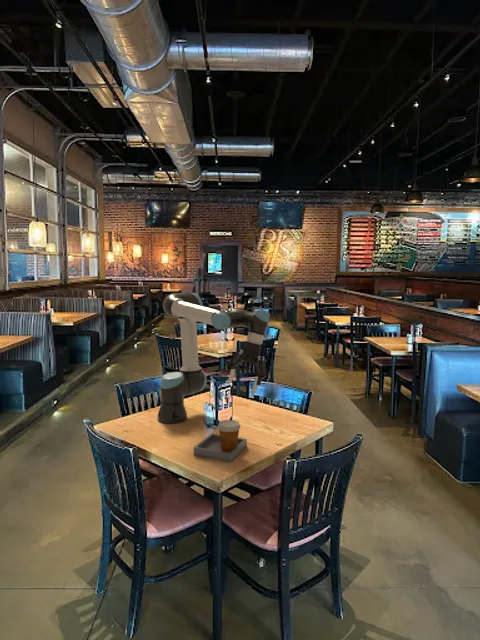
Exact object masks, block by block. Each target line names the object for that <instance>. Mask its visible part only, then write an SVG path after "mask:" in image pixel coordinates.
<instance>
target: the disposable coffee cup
mask: <svg viewBox="0 0 480 640" xmlns="http://www.w3.org/2000/svg"><path fill="white" fill-rule="evenodd" d="M217 428H218V433H219V434H218V435H220V442H221V451H222V452H227V453H230V452H231V451H233V450H234V449H235V448H236V447H237V442H238V438H239V434H240V429H241V424H240V422H239V421H238V420H233V419H225V420H221V421H219V423H218V425H217Z"/></svg>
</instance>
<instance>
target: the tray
mask: <svg viewBox="0 0 480 640" xmlns="http://www.w3.org/2000/svg"><path fill="white" fill-rule="evenodd" d="M247 443H248V442H247V439H246V438H241V437H238V442H237V447H236V448H235V449H234V450H233V451H231V452H230V453H227V452H222V451H221V442H220V434H218V433H217V434H216V433H210V434H209V435H208V436H207V437H205V438H204V439H202V440H201V441H200V442H198V444H197V445H195V446H193V456H195V457H200V458H205V459H210V460H214V461H215V460H216V461H221V462H226V463H231V464H232V463H233V462H234V460H235V459H236V458H238V456H240V454H241V453H242V452H244V450H245V449H246V448H247Z"/></svg>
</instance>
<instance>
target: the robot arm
mask: <svg viewBox="0 0 480 640" xmlns="http://www.w3.org/2000/svg"><path fill="white" fill-rule="evenodd" d="M162 309H163V311H164V313H165V314H166V315H168V316H170V317H173V318H176V319H177V320H178V322H179V326H180V342H181V343H180V344H181V358H182V361H181V362H182V366H181V368H180V369H179V371H173V372H168V373H165V374H164V375H162V377H161V378H160V407H159V410H158V413H157V420H158V421H159V422H160V423H164V424H177V423H182V422H186V420H187V419H188V413H187V410H186V407H185V404H184V402H185V401H184V397H186V396H189V395H193V394H197V393H199V392H201V391H203V390H204V389H205V388H206V385H207V383H208V382H207V381H208V378H207V375H206V374H205V371H204V370H202V369H203V368H202V367H201V366H200V363H199V351H198V350H199V347H198V328H197V327H198V326H197V322H199V323H203V324H206V325H210V326H212V327H213V328H215V329H216V330H226V329H232V328H233V329H234V328H240V327H244V328H248V334H247V336H246V341H245V343H244V348H243V350H242V349H240V348H238V349H237V350H236V353H235V354H234V355H233V356H232V357H231V359H230V360H229V362H228V363H226V366H227V367H229V370H228V379H227V383H228V384H231V383H233V380H234V376H235V373H236V368H237V367H238V366H239V365H241V364H242V363H244V362H247V363H250V364H252V365H253V367H254V370H255V373H256V376H257V377H256V378H255V381H254V384H253V387H252V392H254V393H257V391H258V387H259V386H260V385H261V384H262V380H263V379H267V378H268V376H267V371H266V364H265V359H266V357H265V356H263V355H260V353H261V350H262V344H263V341H264V338H265V334H266V330H267V327H268V324H269V319H270V315H271V314H270V312H269V311H266V310H263V309H258V308H255V309H254V310H253V312H251V311H249V310H246V309H245V310H244V309H242V308H240V309H239V308H234V309H232V311H223V310H219V309H215V308H211V307H207V306H205V305H204V304H203V300H202V298H201V296H199V294H197V293H194V292H182V293H181V292H180V293H171V294H168V295H167V296H166V297H165V298H164V300H163V302H162ZM241 355H242V356H241ZM240 356H241V357H240ZM239 357H240V358H239ZM238 358H239V359H238ZM237 359H238V360H237ZM258 360H259V363H258Z"/></svg>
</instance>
